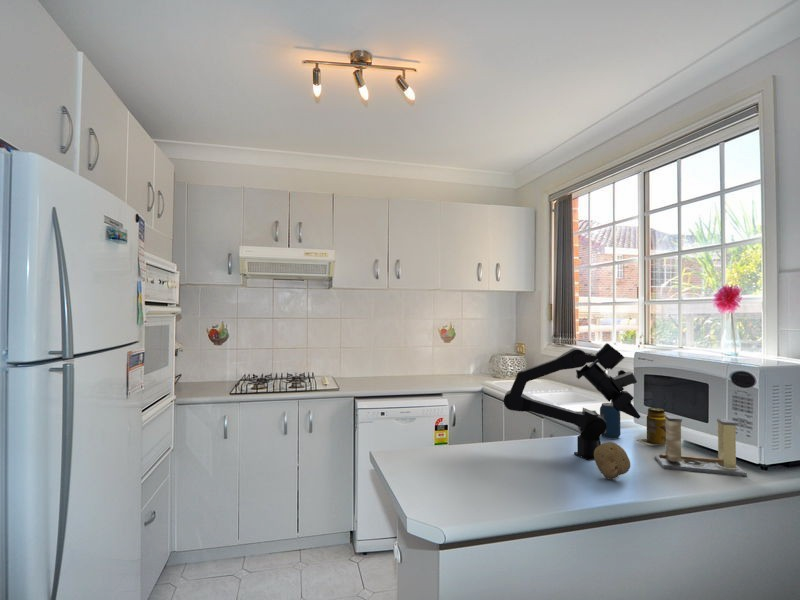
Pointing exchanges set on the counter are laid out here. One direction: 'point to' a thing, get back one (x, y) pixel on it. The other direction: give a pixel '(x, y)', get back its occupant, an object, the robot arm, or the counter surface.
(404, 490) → the counter surface
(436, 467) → the counter surface
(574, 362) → the robot arm
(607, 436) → the soda can
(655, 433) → the condiment
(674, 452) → the post
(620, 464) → the natural sponge
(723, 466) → the wooden post stand
